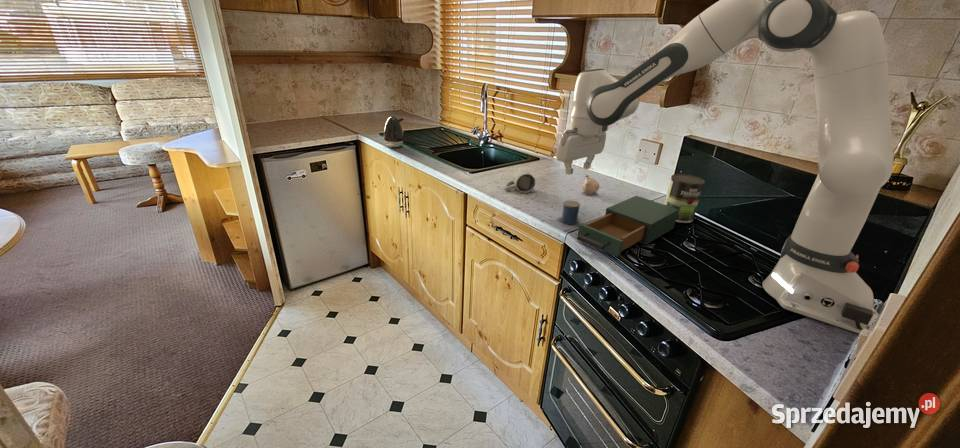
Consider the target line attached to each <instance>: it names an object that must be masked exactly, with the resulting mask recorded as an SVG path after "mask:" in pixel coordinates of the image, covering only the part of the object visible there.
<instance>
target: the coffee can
mask: <svg viewBox="0 0 960 448" xmlns="http://www.w3.org/2000/svg"><path fill="white" fill-rule="evenodd" d="M670 176H671V177H670V182H669V185H668V189H667V193H666V197H665V200H664V203H663V204H664V205H667V206H670V207H673V208H676V209H679V210H678V214H677V217H676V221H675V223H681V224H689V223H693V221H694V218H695V215H696V212H697V208H698V205H699V202H700V198H701V197H702V196H701V195H702V193H703V188H704V185H705V183H706V181H705V179H703V178H701V177H699V176H695V175H693V174H687V173H676V174H672V175H670Z"/></svg>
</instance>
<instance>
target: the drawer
mask: <svg viewBox="0 0 960 448" xmlns="http://www.w3.org/2000/svg"><path fill="white" fill-rule="evenodd" d="M577 229H578V230H577V236H576V240H578V241H581V242H583V243H585V244H586V245H588V246H591V247H594V248H596V249H598V250H601V251H602V252H605V253H607V254H610V255H611V256H614V257H617V258H619V257H620V256H621V253H622V252H623V251H625V250H626V249H628V248H631V247H632V246H634V245H635V244H637V243H640V242H639V241H640V240H642V239H644V238H645V234H646V230H647V226H646V225H643V224H640V223H638V222H635V221H632V220H629V219H627V218H624V217H621V216H619V215H616V214H613V213H609V214H607V215H605V214H604V215H602V216H600V217H598V218H596V219H594V220H591V221H589V222H587V223H586V224H584V223H579V224H578V228H577Z"/></svg>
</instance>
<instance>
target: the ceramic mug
mask: <svg viewBox="0 0 960 448" xmlns="http://www.w3.org/2000/svg"><path fill="white" fill-rule="evenodd" d="M535 186H536V178H535V176H534V175H533V174H532V173H530V172H529V171H527V170H525V169H519V170H516V171H515V172H514V174H513V176H512V180H511V181H508V182H507V183H506V184H505V189H506V191H514V190H517V191H518V192H520V193H522V194H527V193H530V192H531V191H533V190H534V188H535Z"/></svg>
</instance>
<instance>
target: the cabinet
mask: <svg viewBox="0 0 960 448" xmlns="http://www.w3.org/2000/svg"><path fill="white" fill-rule="evenodd" d="M664 204H665V203H660V202H657V201H655V200H651V199H648V198H645V197H642V196H640V195H634V196H632V197H629V198H627V199H625V200H622V201H620V202H618V203H616V204H614V205H611V206H609V207H606V209H605V213H604V216H605V215H607V214H609V213H613V214H616V215H619V216H621V217H624V218H627V219H629V220H632V221H635V222H638V223H640V224H643V225H646V226H647V230H646V234H645V238H644V239H642V240H640V241H639V242H638V243H639V244H642V245H645V246H647V245H648V244H650V243H652V242H654V241H655V240H656V239H658V238H661V237H662V236H663V235H665V234H666V233H669V232H670V231H672V230H673V229H675V226H676V225H675V224H676V222H675V221H676V217H677V214H678V210H679V209H676V208H673V207H670V206H667V205H664Z"/></svg>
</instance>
